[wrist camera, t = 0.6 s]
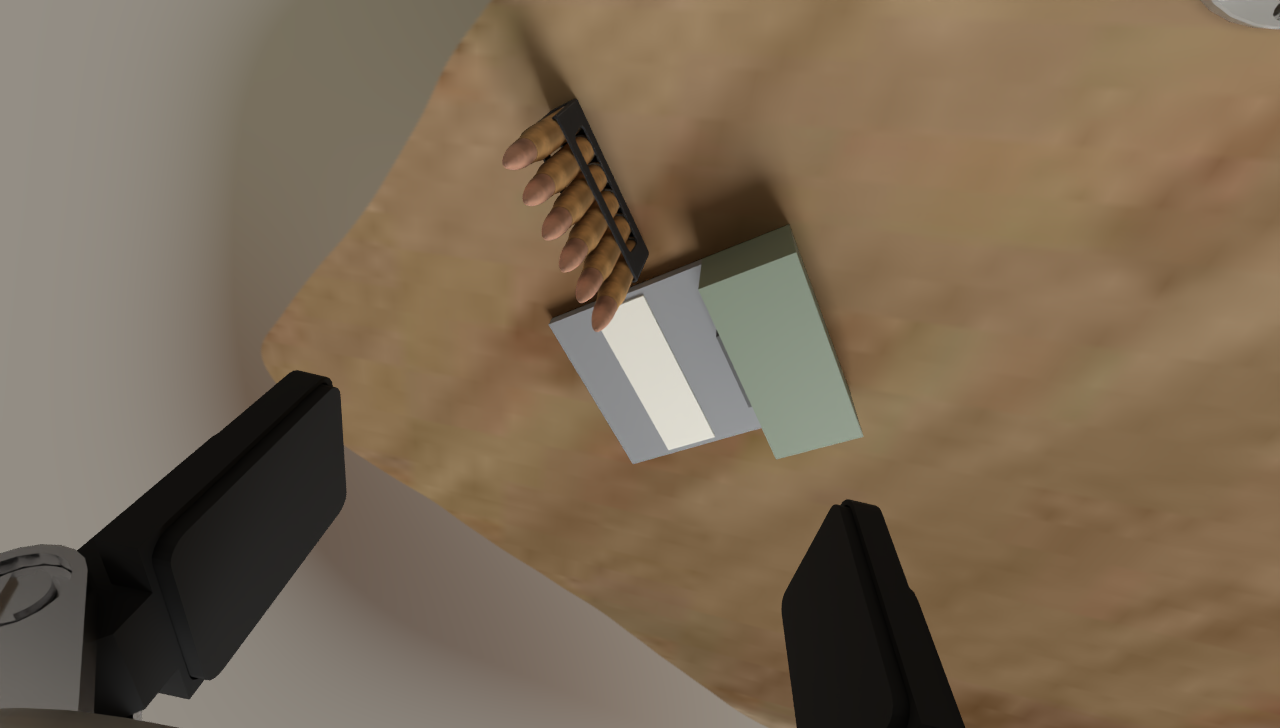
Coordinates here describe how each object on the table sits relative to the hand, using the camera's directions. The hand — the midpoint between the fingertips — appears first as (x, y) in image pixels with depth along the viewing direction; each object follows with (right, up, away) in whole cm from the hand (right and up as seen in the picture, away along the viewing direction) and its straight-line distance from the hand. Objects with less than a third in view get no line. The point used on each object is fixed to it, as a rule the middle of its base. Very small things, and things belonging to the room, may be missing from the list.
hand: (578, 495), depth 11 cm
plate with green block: (+6, +3, +32) cm, 33 cm away
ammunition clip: (-1, +14, +27) cm, 30 cm away
